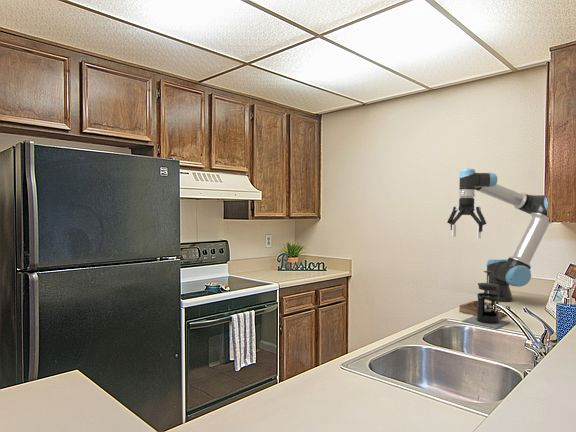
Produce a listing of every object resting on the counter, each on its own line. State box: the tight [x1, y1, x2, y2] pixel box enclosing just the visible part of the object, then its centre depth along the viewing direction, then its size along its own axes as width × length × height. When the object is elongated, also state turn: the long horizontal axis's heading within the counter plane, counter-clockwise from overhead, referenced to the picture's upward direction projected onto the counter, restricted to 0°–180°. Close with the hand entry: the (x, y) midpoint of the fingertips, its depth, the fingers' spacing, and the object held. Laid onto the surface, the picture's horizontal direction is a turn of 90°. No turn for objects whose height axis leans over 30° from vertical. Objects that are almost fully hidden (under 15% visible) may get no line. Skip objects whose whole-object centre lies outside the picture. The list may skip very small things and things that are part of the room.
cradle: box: [459, 300, 511, 319], centre depth 206 cm, size 17×17×4 cm
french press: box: [476, 270, 500, 324], centre depth 188 cm, size 12×9×23 cm
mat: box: [461, 315, 511, 330], centre depth 189 cm, size 15×15×1 cm
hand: (465, 237), depth 221 cm, fingers open, 13 cm apart
